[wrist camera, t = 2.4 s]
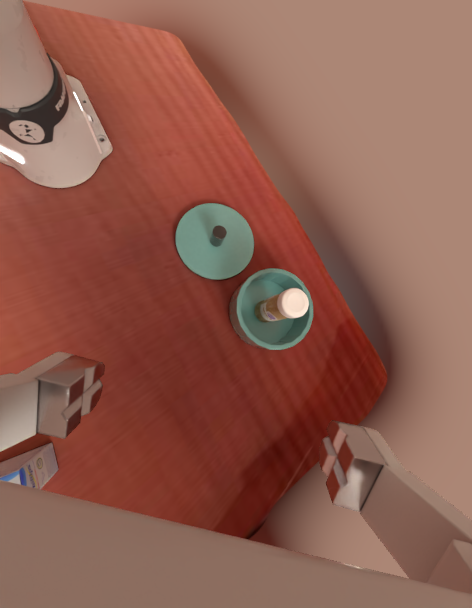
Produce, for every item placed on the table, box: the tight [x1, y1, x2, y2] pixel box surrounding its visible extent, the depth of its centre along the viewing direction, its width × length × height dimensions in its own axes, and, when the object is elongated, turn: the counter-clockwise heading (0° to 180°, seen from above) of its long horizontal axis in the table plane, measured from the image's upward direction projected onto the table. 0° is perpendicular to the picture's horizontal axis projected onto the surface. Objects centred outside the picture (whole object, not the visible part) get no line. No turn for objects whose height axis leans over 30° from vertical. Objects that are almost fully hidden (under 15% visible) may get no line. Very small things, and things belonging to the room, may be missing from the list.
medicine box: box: [0, 443, 58, 489], centre depth 33 cm, size 8×4×9 cm, turn 109°
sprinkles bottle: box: [255, 288, 309, 322], centre depth 43 cm, size 5×5×13 cm
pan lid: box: [175, 203, 254, 280], centre depth 46 cm, size 16×16×5 cm
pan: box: [229, 268, 313, 350], centre depth 46 cm, size 15×15×6 cm
